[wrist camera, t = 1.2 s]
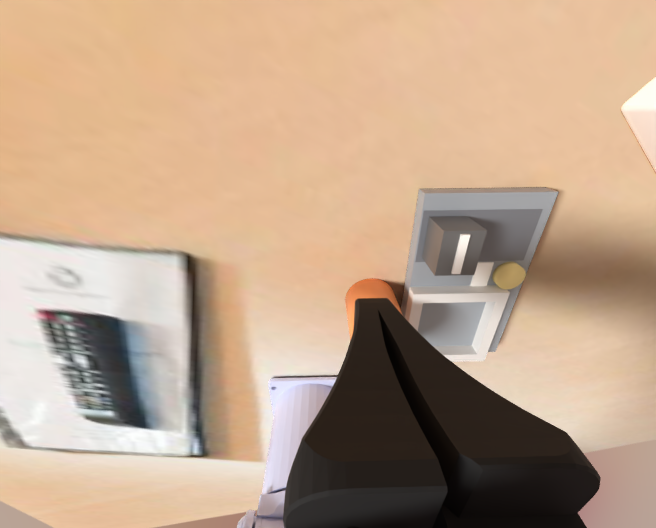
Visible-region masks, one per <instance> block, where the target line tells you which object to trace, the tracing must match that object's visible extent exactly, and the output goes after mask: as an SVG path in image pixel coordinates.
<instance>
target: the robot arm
mask: <svg viewBox="0 0 656 528" xmlns="http://www.w3.org/2000/svg"><path fill="white" fill-rule="evenodd" d="M268 386H269V392H270V398H271V404H272V410H273V416H274V419H273V425H272V431H271V438H270V444H269V451H268V457H267V463H266V470H265V476H264V483H263V489H262V494H261V495H260V499H259V505H258V511H257V516H255V511H254V510H248V511H247V512H246V515H244V516H243V517H242V518H241V519H240V520H239V522H238V526H237V528H587V527H586V526H585V524H584V523H583V521H582V519H581V518H580V516H579V515H578V511H580V510H581V509H582V507H584V505H585V504H586V503H587V502H588V501H589V500H590V499H591V498H592V497H593V496H594V495H595V494H596V492H597V491H598V489H599V485H600V476H599V474H598V473H597V471H596V470H595V468H594V467H593V466H592V464H591V463H590V462H589V461H588V459H587V458H586V457H585V455H584V454H583V453H582V451H581V450H580V449H579V447H578V446H577V445H576V444H575V442H574V441H573V440H572V439H571V437H570V436H569V435H568V434H567V433H566V432H565V431H563V430H561V429H559V428H557V427H555V426H553V425H551V424H550V423H548V422H546V421H544V420H542V419H540V418H538V417H536V416H534V415H533V414H531V413H529V412H527V411H525V410H523V409H522V408H520V407H518V406H516V405H515V404H513V403H511V402H510V401H508V400H506V399H505V398H503V397H501V396H500V395H498V394H497V393H495V392H493V391H492V390H490V389H489V388H487V387H486V386H484V385H483V384H481V383H480V382H478V381H477V380H475V379H474V378H473V377H471V376H470V375H468V374H467V373H465V372H464V371H463V370H461V369H460V368H459V367H457V366H456V365H455V364H454V363H452V362H451V361H450V360H449V359H447V358H446V357H445V356H444V355H442V354H441V353H440V352H439V351H438V350H437V349H435V348H434V347H433V346H432V345H431V344H430V343H429V342H428V341H427V340H426V339H425V338H424V337H423V336H422V335H421V334H420V333H419V332H418V331H417V330H416V329H415V328H414V327H413V326H412V325H411V324H410V323H409V322H408V321H407V320H406V318H405V317H404V316H403V315H402V314H401V313H400V312H399V311H398V309H397V308H396V307H395V306H394V305H393V304H392V302H391V301H390V300H389V299H388V298H358V299H357V300H355V311H354V329H353V334H352V338H351V341H350V345H349V348H348V351H347V354H346V357H345V360H344V362H343V365H342V367H341V370H340V372H339V374H338V376H337V377H308V378H272V379H270V380H269V383H268Z"/></svg>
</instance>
